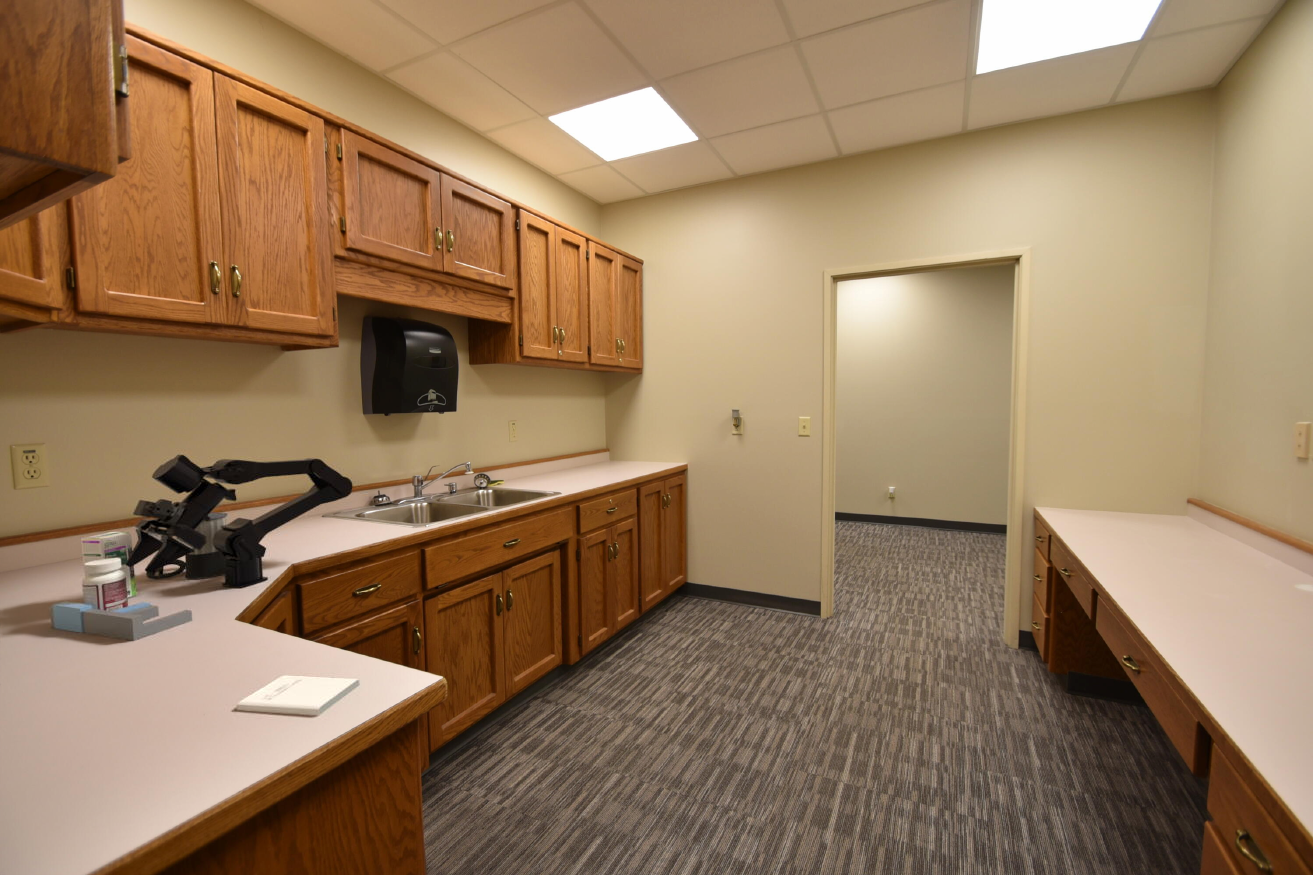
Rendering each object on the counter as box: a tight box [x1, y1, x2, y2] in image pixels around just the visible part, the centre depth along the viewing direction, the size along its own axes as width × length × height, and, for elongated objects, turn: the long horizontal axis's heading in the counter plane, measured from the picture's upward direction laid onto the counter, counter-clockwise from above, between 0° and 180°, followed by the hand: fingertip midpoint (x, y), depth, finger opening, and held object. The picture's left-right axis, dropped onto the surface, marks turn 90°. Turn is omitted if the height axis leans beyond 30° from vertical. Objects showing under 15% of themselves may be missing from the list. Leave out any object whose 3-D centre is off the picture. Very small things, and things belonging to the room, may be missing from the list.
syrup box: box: [80, 531, 137, 599], centre depth 120 cm, size 6×6×14 cm
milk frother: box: [145, 512, 229, 580], centre depth 137 cm, size 14×16×15 cm
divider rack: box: [49, 601, 193, 641], centre depth 107 cm, size 24×10×5 cm, turn 73°
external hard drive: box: [236, 675, 361, 717], centre depth 78 cm, size 2×8×12 cm
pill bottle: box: [81, 558, 129, 611], centre depth 109 cm, size 6×6×11 cm
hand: (137, 568), depth 113 cm, fingers open, 9 cm apart
